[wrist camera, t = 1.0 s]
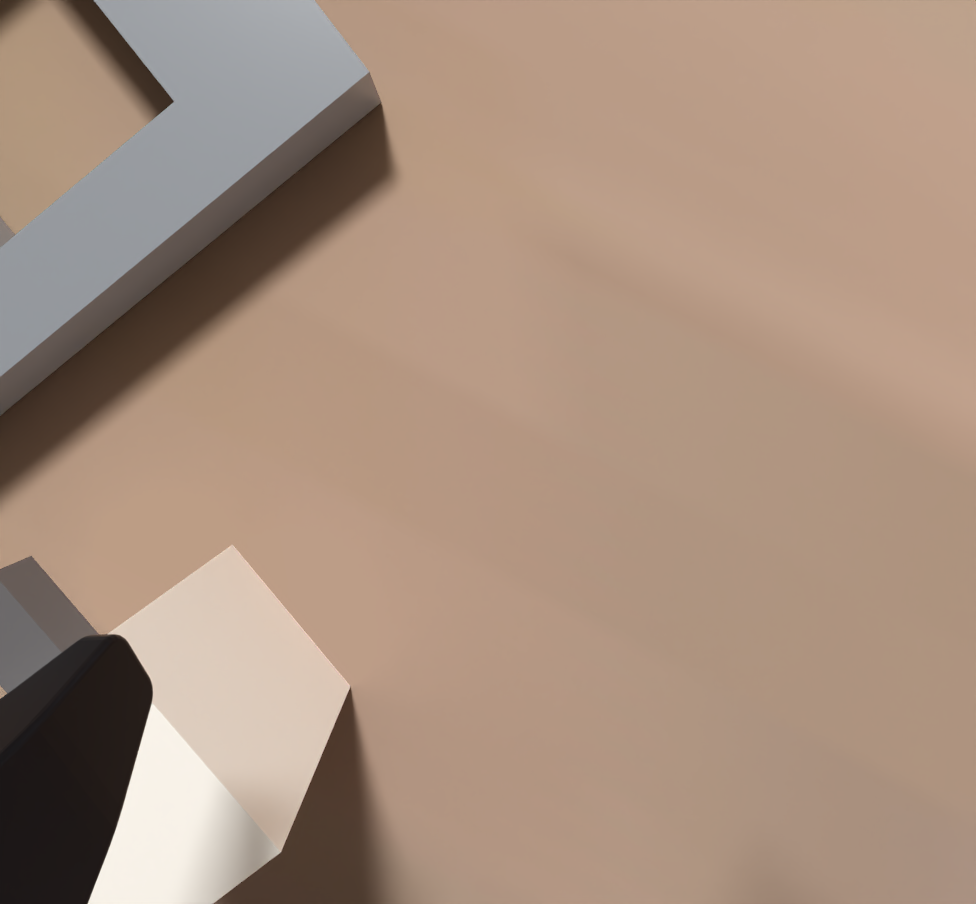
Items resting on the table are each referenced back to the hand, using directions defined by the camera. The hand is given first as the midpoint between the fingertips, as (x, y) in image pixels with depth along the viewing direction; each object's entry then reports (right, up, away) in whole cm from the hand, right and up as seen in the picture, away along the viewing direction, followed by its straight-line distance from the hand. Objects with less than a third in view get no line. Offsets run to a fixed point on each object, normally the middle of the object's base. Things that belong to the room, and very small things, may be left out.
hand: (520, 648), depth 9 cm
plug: (-6, -3, +12) cm, 14 cm away
